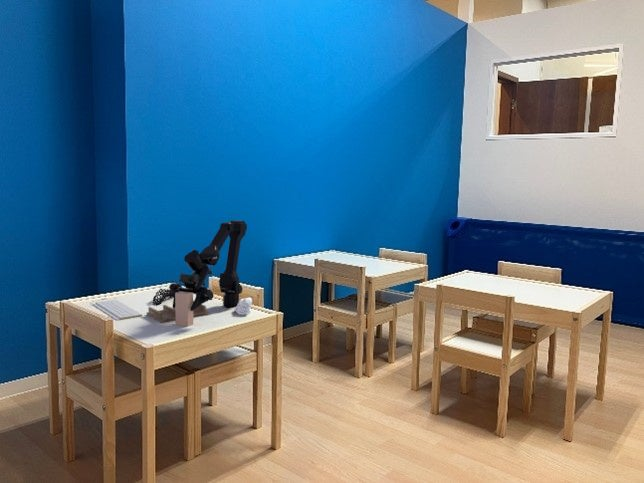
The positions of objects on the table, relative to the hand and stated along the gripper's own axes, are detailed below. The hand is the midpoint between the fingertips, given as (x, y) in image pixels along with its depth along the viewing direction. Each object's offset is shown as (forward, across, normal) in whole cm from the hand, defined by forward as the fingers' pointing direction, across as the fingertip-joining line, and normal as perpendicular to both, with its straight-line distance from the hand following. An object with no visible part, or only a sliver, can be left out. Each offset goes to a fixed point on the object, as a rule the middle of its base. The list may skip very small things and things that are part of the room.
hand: (182, 309), depth 216 cm
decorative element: (-17, -33, +27) cm, 46 cm away
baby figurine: (-15, +11, +25) cm, 31 cm away
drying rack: (-4, -12, +13) cm, 18 cm away
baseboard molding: (+2, -40, +8) cm, 40 cm away
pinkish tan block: (+4, 0, +6) cm, 7 cm away
